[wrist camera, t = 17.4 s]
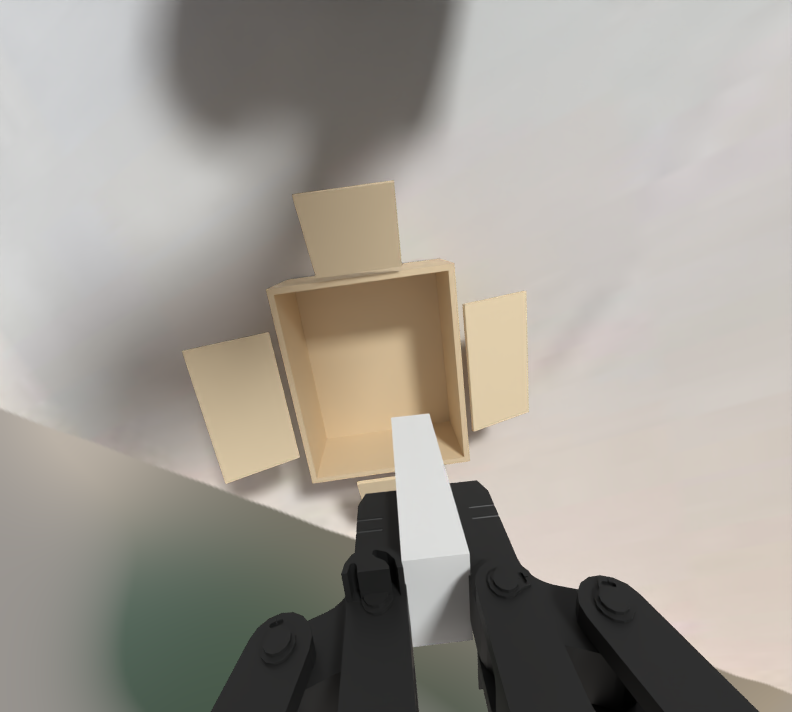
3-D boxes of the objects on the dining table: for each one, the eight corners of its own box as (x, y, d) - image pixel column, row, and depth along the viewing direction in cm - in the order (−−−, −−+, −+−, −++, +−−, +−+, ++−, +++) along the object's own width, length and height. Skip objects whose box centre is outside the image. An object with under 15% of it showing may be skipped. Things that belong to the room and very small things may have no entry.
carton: (287, 279, 43) (265, 289, 34) (438, 258, 43) (454, 263, 34) (323, 441, 50) (312, 483, 41) (453, 423, 50) (469, 461, 41)
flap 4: (526, 291, 38) (523, 290, 38) (464, 304, 35) (462, 304, 36) (528, 411, 42) (526, 410, 42) (474, 431, 40) (471, 430, 40)
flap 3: (367, 518, 45) (367, 515, 46) (430, 509, 46) (430, 506, 46) (357, 484, 41) (357, 481, 41) (427, 474, 41) (426, 471, 41)
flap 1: (269, 332, 35) (268, 331, 35) (181, 351, 32) (182, 350, 32) (299, 457, 39) (299, 455, 40) (225, 484, 36) (225, 481, 37)
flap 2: (316, 278, 34) (316, 275, 34) (401, 266, 34) (401, 264, 34) (292, 196, 28) (292, 194, 29) (393, 182, 28) (393, 180, 29)
